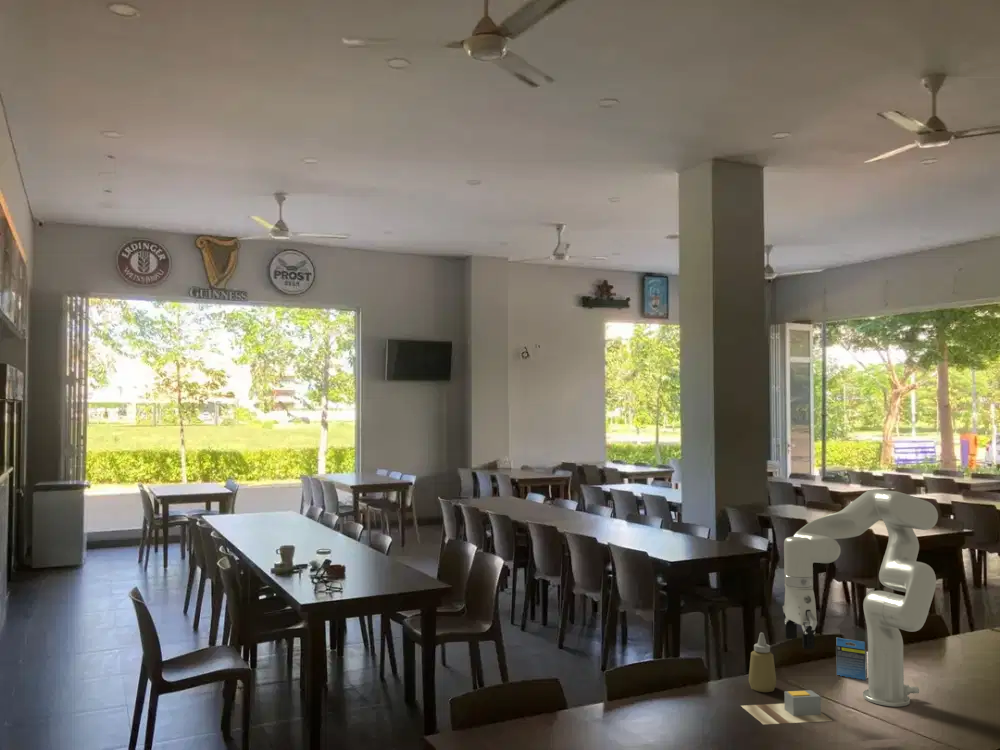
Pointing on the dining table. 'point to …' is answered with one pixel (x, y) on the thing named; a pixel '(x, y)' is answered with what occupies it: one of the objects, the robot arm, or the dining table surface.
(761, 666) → the squeeze bottle
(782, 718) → the board
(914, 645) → the dining table surface
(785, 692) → the grey block
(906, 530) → the robot arm
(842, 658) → the label tape box
